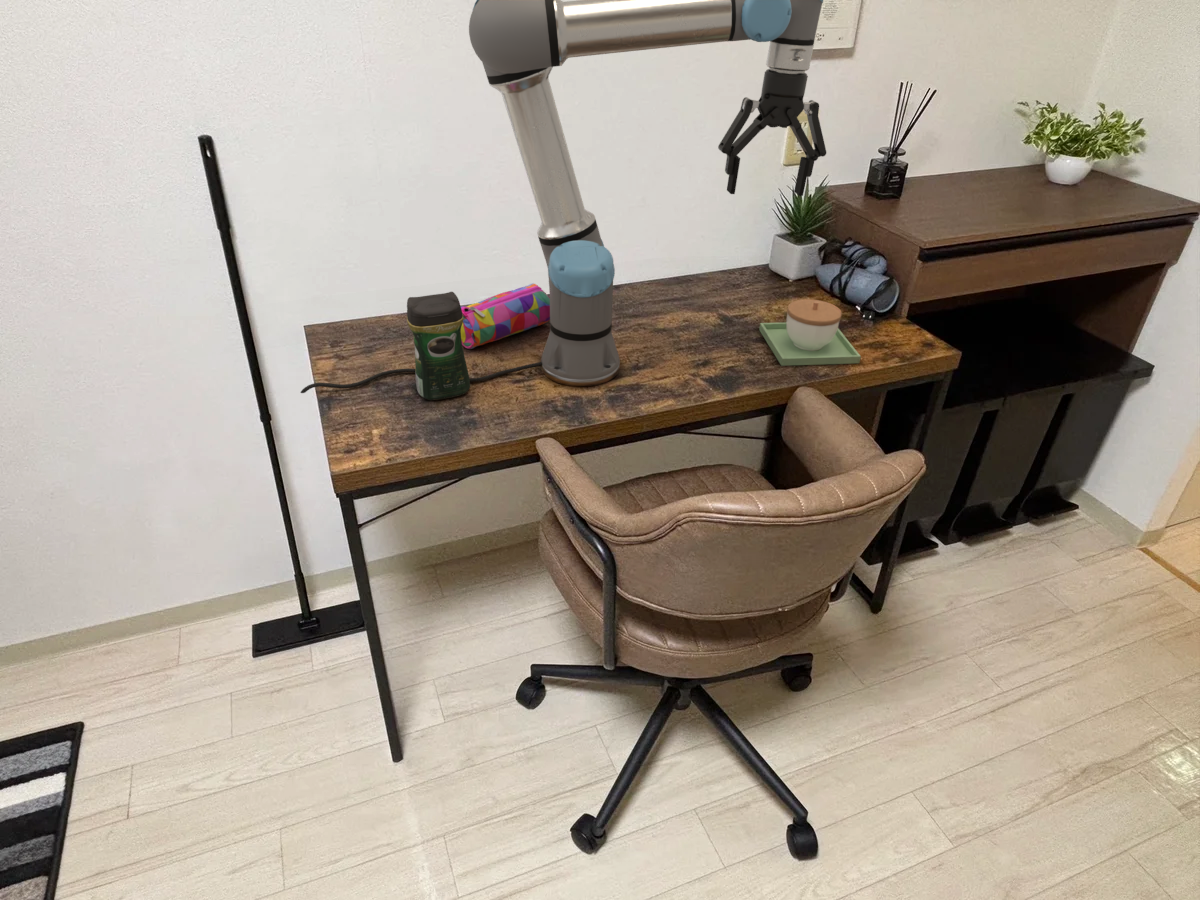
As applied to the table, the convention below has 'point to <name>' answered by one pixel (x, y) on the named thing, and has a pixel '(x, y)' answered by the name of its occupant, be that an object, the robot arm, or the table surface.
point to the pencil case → (504, 315)
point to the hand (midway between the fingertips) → (764, 193)
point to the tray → (789, 354)
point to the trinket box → (812, 323)
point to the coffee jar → (438, 345)
